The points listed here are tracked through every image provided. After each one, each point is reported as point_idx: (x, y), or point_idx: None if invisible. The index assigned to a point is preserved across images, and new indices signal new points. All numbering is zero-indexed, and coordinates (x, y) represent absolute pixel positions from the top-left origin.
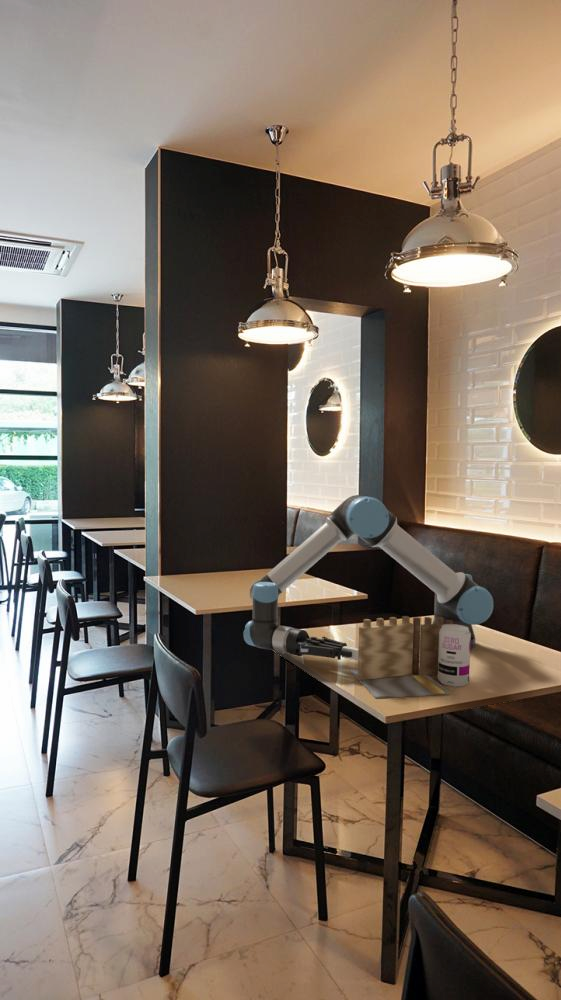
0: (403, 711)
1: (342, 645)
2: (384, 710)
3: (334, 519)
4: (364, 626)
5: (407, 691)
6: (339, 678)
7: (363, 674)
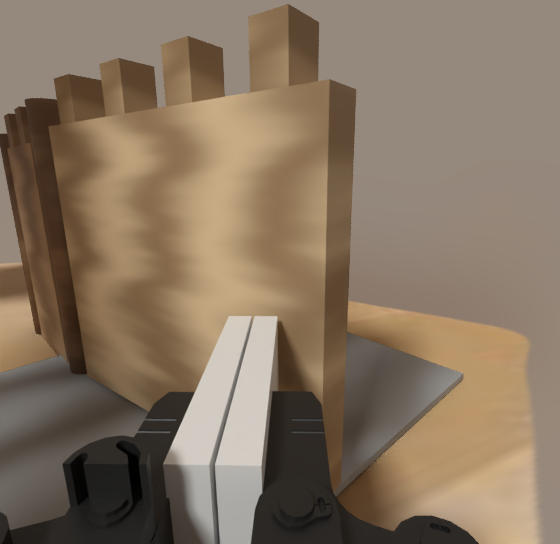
0: (461, 322)
1: (114, 519)
2: (513, 342)
3: None
4: (302, 82)
5: None
6: None
7: None
